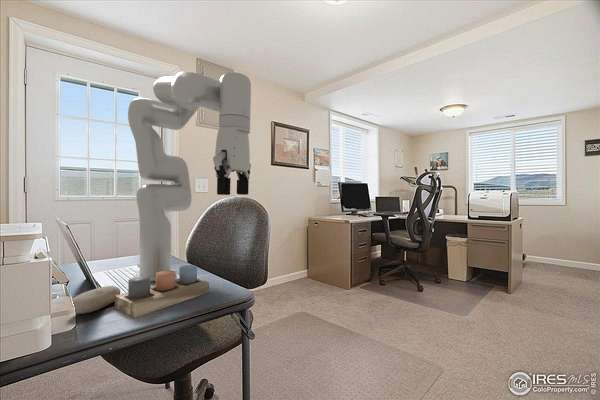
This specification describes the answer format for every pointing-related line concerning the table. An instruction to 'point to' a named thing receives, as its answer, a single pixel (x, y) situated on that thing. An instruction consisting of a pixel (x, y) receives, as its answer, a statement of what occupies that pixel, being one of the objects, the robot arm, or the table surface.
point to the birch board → (160, 298)
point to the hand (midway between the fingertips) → (233, 194)
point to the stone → (95, 299)
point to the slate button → (188, 274)
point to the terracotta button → (165, 280)
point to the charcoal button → (139, 287)
